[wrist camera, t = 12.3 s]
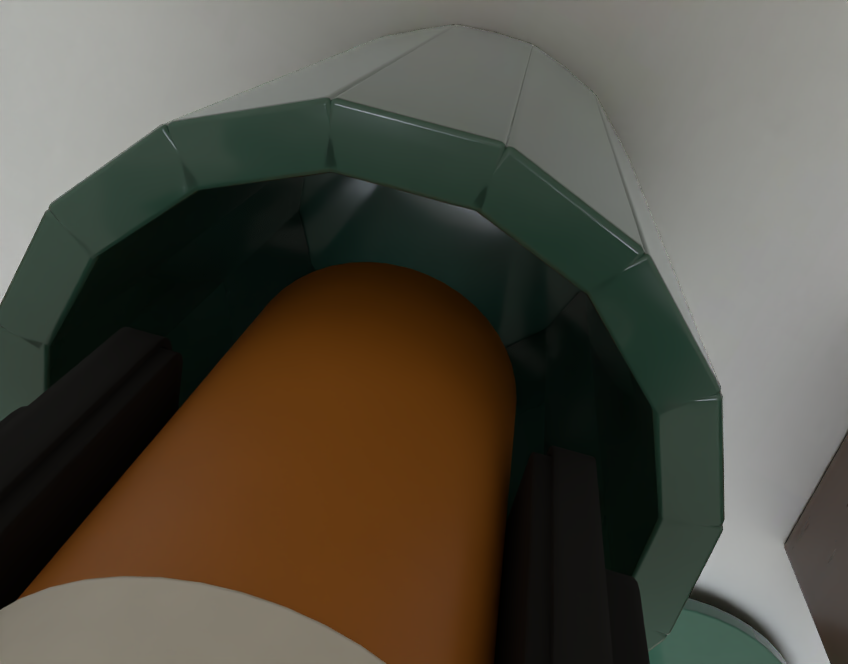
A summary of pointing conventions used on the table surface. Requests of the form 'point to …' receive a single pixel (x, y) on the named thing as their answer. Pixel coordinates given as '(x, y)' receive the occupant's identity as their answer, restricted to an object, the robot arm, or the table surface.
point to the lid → (713, 640)
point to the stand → (825, 557)
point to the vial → (304, 497)
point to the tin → (412, 262)
